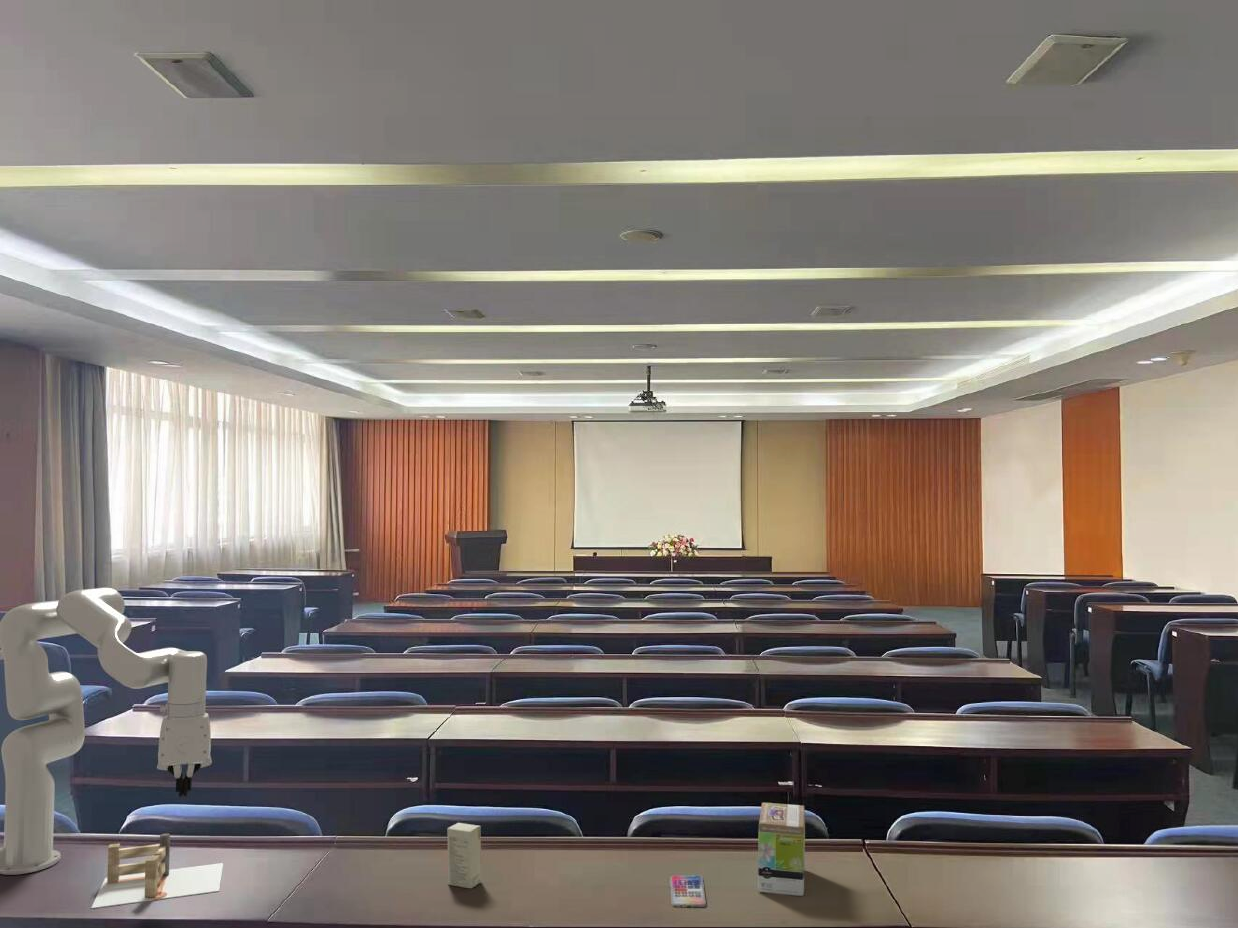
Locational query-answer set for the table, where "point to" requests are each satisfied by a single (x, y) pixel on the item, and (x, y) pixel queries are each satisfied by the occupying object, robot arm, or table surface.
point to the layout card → (161, 886)
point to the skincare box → (464, 855)
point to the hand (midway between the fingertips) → (183, 794)
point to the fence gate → (154, 872)
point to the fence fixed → (133, 852)
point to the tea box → (781, 849)
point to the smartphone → (687, 891)
